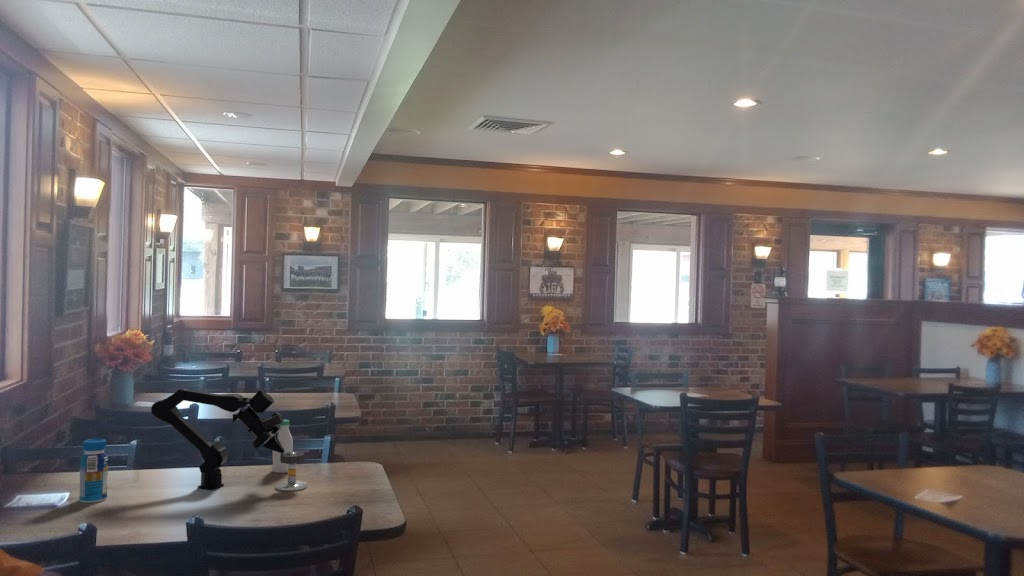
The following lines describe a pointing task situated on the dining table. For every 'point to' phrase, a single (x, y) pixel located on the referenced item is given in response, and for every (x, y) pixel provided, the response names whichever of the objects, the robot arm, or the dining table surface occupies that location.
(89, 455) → the beverage bottle
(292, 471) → the pipe stand
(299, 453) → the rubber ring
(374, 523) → the dining table surface
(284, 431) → the milk bottle
